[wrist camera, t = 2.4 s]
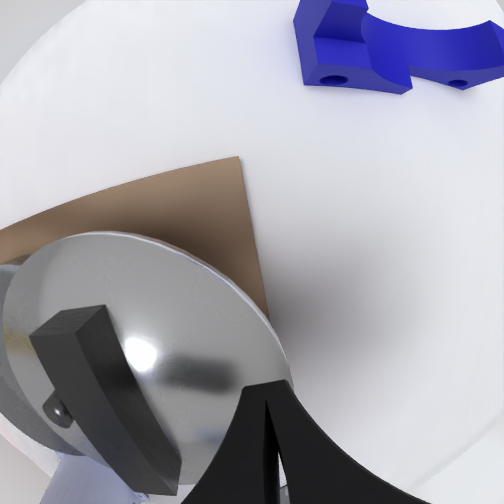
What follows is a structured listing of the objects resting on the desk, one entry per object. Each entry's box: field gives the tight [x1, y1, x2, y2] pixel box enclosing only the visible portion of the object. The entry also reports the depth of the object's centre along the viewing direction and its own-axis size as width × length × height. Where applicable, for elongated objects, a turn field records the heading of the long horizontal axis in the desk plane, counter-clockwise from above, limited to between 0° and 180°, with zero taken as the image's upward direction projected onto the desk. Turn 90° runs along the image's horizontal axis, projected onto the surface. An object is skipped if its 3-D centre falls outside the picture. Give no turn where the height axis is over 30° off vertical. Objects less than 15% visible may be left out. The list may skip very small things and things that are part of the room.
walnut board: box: [0, 156, 270, 323], centre depth 15 cm, size 16×24×1 cm, turn 101°
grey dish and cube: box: [0, 254, 86, 456], centre depth 12 cm, size 12×18×4 cm, turn 101°
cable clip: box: [293, 0, 504, 94], centre depth 9 cm, size 12×4×6 cm, turn 95°
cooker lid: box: [2, 231, 294, 496], centre depth 8 cm, size 13×13×3 cm
